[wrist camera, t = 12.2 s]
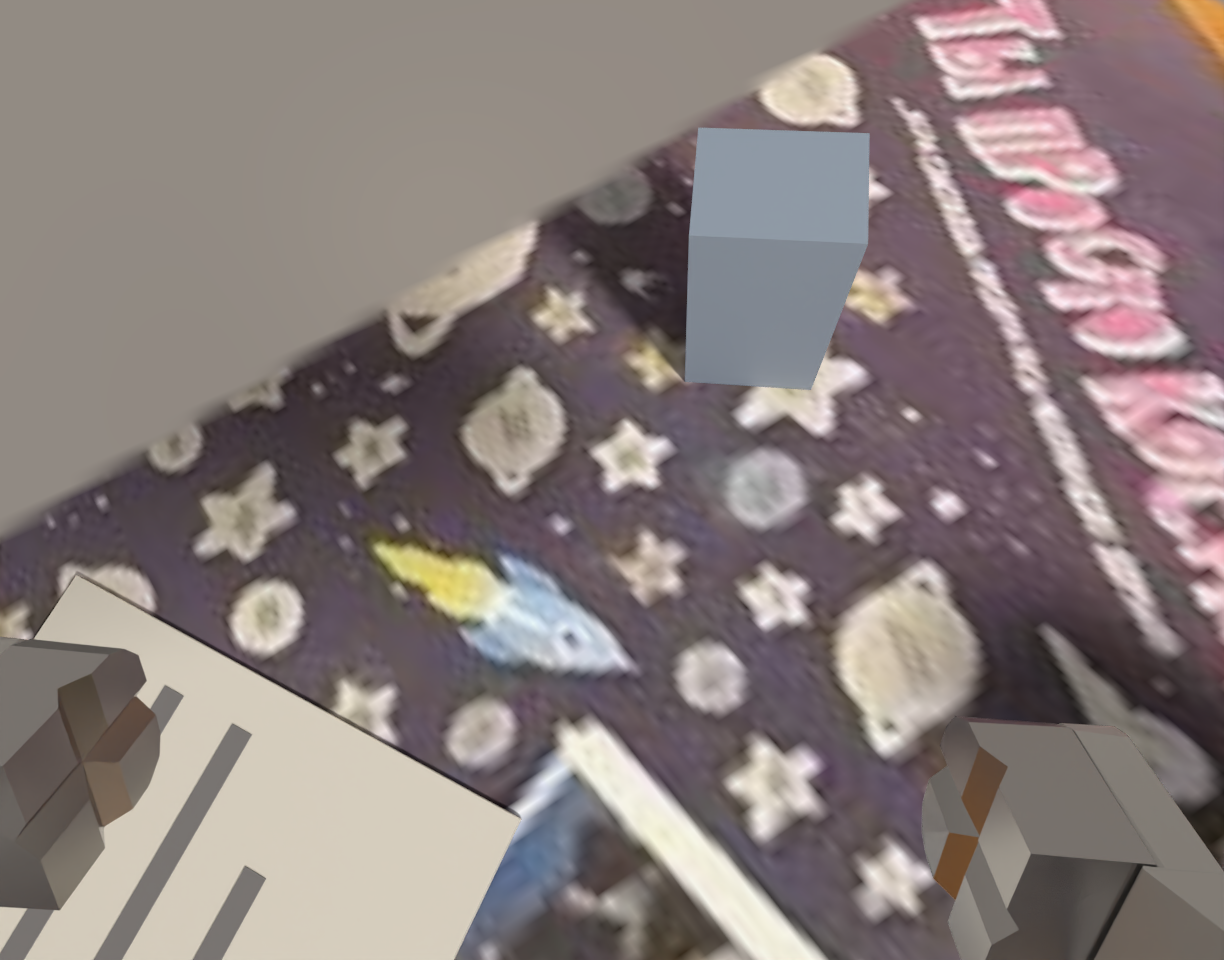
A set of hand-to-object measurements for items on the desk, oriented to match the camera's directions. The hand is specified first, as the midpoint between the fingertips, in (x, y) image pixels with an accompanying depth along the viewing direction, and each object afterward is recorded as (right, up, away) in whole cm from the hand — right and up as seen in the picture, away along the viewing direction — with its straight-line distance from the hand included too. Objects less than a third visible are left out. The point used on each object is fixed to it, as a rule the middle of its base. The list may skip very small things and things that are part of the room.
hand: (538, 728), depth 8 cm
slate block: (+5, +7, +18) cm, 20 cm away
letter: (-12, -9, +14) cm, 20 cm away
